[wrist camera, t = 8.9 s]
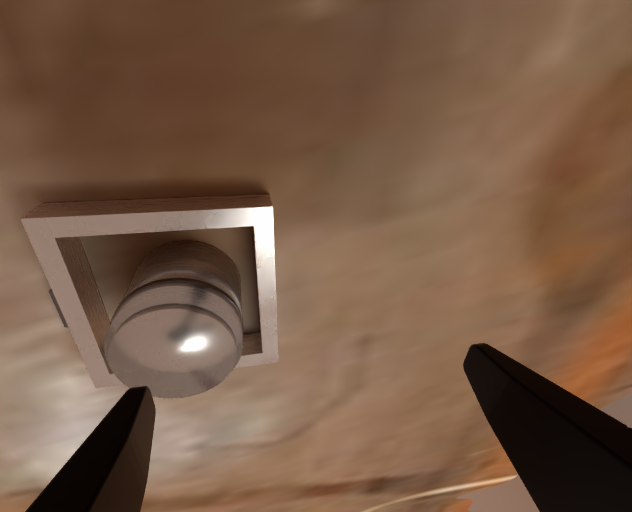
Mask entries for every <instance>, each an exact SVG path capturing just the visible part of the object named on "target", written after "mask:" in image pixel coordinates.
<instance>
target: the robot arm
mask: <svg viewBox="0 0 632 512" xmlns="http://www.w3.org/2000/svg"><path fill="white" fill-rule="evenodd" d="M463 367H464V371H465V373H466V376H467V378H468V380H469V382H470V384H471V386H472V389H473V391H474V393H475V395H476V397H477V399H478V402H479V404H480V406H481V408H482V410H483V412H484V414H485V416H486V418H487V420H488V422H489V424H490V426H491V428H492V429H493V431H494V433H495V435H496V436H497V438H498V440H499V442H500V443H501V445H502V447H503V449H504V450H505V452H506V454H507V455H508V457H509V459H510V461H511V462H512V464H513V466H514V468H515V469H516V471H517V473H518V475H519V476H520V478H521V480H522V481H523V483H524V485H525V487H526V488H527V490H528V492H529V494H530V495H531V497H532V499H533V501H534V502H535V504H536V506H537V508H538V509H539V511H540V512H632V428H628V427H627V426H626V425H625V424H623V423H621V422H620V421H618V420H616V419H614V418H613V417H611V416H609V415H608V414H606V413H604V412H603V411H601V410H599V409H597V408H596V407H594V406H592V405H591V404H589V403H587V402H585V401H584V400H582V399H580V398H579V397H577V396H575V395H573V394H572V393H570V392H568V391H567V390H565V389H563V388H561V387H560V386H558V385H556V384H555V383H553V382H551V381H549V380H548V379H546V378H544V377H543V376H541V375H539V374H538V373H536V372H534V371H532V370H531V369H529V368H527V367H526V366H524V365H522V364H520V363H519V362H517V361H515V360H514V359H512V358H510V357H508V356H507V355H505V354H503V353H502V352H500V351H498V350H496V349H495V348H493V347H491V346H490V345H488V344H485V343H479V344H473V345H471V346H470V348H469V350H468V353H467V355H466V358H465V360H464V363H463ZM154 422H155V404H154V401H153V398H152V394H151V391H150V388H149V387H148V386H139V387H132V388H130V389H128V390H127V391H126V393H125V394H124V395H123V396H122V397H121V398H120V400H119V401H118V402H117V403H116V404H115V406H114V407H113V408H112V409H111V410H110V412H109V413H108V414H107V415H106V416H105V417H104V419H103V420H102V421H101V422H100V423H99V425H98V426H97V427H96V428H95V429H94V431H93V432H92V433H91V434H90V435H89V436H88V438H87V439H86V440H85V441H84V442H83V444H82V445H81V446H80V447H79V448H78V450H77V451H76V452H75V453H74V454H73V455H72V457H71V458H70V459H69V460H68V461H67V463H66V464H65V465H64V466H63V467H62V469H61V470H60V471H59V472H58V473H57V474H56V476H55V477H54V478H53V479H52V480H51V482H50V483H49V484H48V485H47V486H46V488H45V489H44V490H43V491H42V492H41V493H40V495H39V496H38V497H37V498H36V499H35V501H34V502H33V503H32V504H31V505H30V507H29V508H28V509H27V510H26V511H25V512H140V510H141V506H142V502H143V498H144V493H145V488H146V484H147V477H148V470H149V462H150V454H151V446H152V438H153V430H154Z"/></svg>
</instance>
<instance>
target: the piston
mask: <svg viewBox="0 0 632 512" xmlns="http://www.w3.org/2000/svg"><path fill="white" fill-rule="evenodd" d="M242 349H243V319H242V306H241V280H240V274H239V271H238V269H237V267H236V265H235V264H234V262H233V261H232V260H231V259H230V258H229V256H227V255H226V254H225V253H224V252H223V251H221V250H219V249H218V248H216V247H214V246H212V245H209V244H206V243H202V242H198V241H175V242H171V243H167V244H164V245H162V246H160V247H158V248H156V249H154V250H153V251H151V252H150V253H149V254H148V255H147V256H146V257H145V258H144V259H143V260H142V262H141V263H140V265H139V267H138V269H137V271H136V273H135V275H134V277H133V279H132V281H131V283H130V285H129V288H128V290H127V292H126V294H125V296H124V298H123V300H122V302H121V303H120V304H119V306H118V308H117V310H116V312H115V314H114V316H113V318H112V320H111V323H110V327H109V329H108V331H107V333H106V336H105V339H104V353H105V357H106V360H107V362H108V364H109V365H110V368H111V370H112V372H113V373H114V375H115V376H116V377H117V378H118V379H119V380H120V381H121V382H122V383H123V384H125V385H126V386H127V387H129V388H132V387H139V386H148V387H149V388H150V391H151V394H152V396H153V397H160V398H182V397H188V396H193V395H197V394H200V393H202V392H205V391H207V390H209V389H211V388H213V387H215V386H216V385H218V384H219V383H220V382H222V381H223V380H224V379H225V378H226V377H227V376H228V375H229V373H230V372H231V371H232V370H233V369H234V368H235V366H236V365H237V363H238V361H239V360H240V357H241V354H242Z"/></svg>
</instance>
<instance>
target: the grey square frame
mask: <svg viewBox="0 0 632 512" xmlns="http://www.w3.org/2000/svg"><path fill="white" fill-rule="evenodd" d="M21 222H22V224H23V226H24V228H25V231H26V233H27V235H28V237H29V240H30V242H31V244H32V246H33V249H34V251H35V253H36V255H37V258H38V260H39V262H40V264H41V266H42V269H43V271H44V273H45V275H46V278H47V280H48V282H49V284H50V287H51V290H50V291H49V293H50V295H51V298H52V300H53V302H54V304H55V306H56V309H57V311H58V313H59V315H60V317H61V320H62V322H63V324H64V326H65V327H69V329H70V332H71V334H72V336H73V338H74V340H75V343H76V345H77V347H78V349H79V352H80V354H81V356H82V358H83V361H84V363H85V365H86V367H87V370H88V372H89V374H90V376H91V379H92V381H93V383H94V385H95V388H102V387H109V386H115V385H122V384H123V383H122V382H121V381H120V380H119V379H118V378H117V377H116V376H115V375H114V373H113V372H112V370H111V368H110V365H109V364H108V362H107V360H106V357H105V353H104V339H105V336H106V333H107V331H108V329H109V327H110V322H109V319H108V316H107V314H106V311H105V308H104V305H103V303H102V300H101V297H100V294H99V291H98V289H97V286H96V283H95V280H94V278H93V275H92V272H91V269H90V267H89V264H88V261H87V258H86V256H85V253H84V250H83V247H82V244H81V242H80V239H79V236H95V235H111V234H128V233H145V232H162V231H179V230H195V229H212V228H229V227H246V226H253V232H254V246H255V261H256V275H257V289H258V304H259V318H260V332H257V333H249V334H243V349H242V354H241V357H240V360H239V361H238V363H237V365H236V366H235V368H239V367H246V366H253V365H260V364H267V363H274V362H278V336H277V308H276V281H275V253H274V225H273V206H272V202H271V199H270V195H269V194H256V195H231V196H206V197H181V198H157V199H132V200H107V201H82V202H57V203H42V204H41V205H40V206H38V207H37V208H35V209H34V210H32V211H31V212H29V213H28V214H27V215H25V216H24V217H22V218H21Z"/></svg>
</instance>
